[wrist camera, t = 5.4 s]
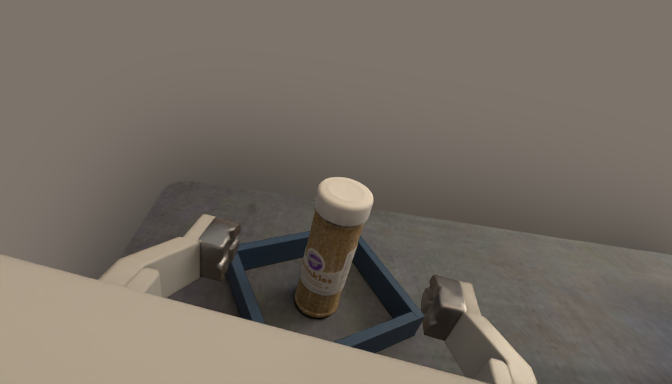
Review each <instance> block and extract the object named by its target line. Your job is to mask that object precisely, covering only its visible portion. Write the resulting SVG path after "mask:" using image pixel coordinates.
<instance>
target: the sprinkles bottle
mask: <svg viewBox="0 0 672 384" xmlns="http://www.w3.org/2000/svg"><path fill="white" fill-rule="evenodd" d="M314 205H315V214H314V217H313V222H312V226H311V230H310V234H309V239H308V243H307V246H306V249H305V253H304V257H303V261H302V266H301V271H300V279H299V283H298V287H297V289H296V292H295V302H296V304H297V306H298V307H299V309H300V310H301V311H302V312H303V313H304V314H306V315H308V316H310V317H315V318H322V317H327V316H329V315H331V314H332V313H334V312H335V311H336V309H337V307H338V305H339V298H340V295H341V292H342V289H343V287H344V285H345V282H346V279H347V276H348V272H349V269H350V266H351V263H352V260H353V257H354V254H355V251H356V248H357V245H358V240H359V237H360V235H361V231H362V228H363V225H364V223H365V222H366V220H367V219H368V217H369V214H370V211H371V208H372V205H373V195H372V193H371V192H370V190H369V189H368V188H367V187H366V186H364V185H363V184H361V183H359V182H357V181H355V180H352V179H349V178H344V177H332V178H328V179H325V180H324V181H322V182H321V183H320V185H319V186H318V190H317V194H316V198H315V203H314Z"/></svg>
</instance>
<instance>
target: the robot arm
mask: <svg viewBox="0 0 672 384" xmlns="http://www.w3.org/2000/svg"><path fill="white" fill-rule="evenodd" d="M240 226H241V225H240V224H239V223H236V222H232V221H229V220H225V219H222V218H218V217H214V216H210V215H207V214H204V215H202V216H201V217H200V218H199V219H198V220H197V221H196V223H195V224H194V225H193V226H192V227H191V228H190V230H189V231H188V232H187V233H186V234H185V235H184V237H183V238H182V237H177V238H175V239H172V240H169V241H167V242H164V243H161V244H158V245H156V246H153V247H150V248H148V249H145V250H142V251H140V252H137V253H134V254H131V255H129V256H126V257H123V258H121V259H119V260H118V261H117V262H116V263H115V264H114V265H113V266H112V267H111V268H110V269H109V270H107V271H106V273H104V274H103V275H102V276H101V277H100V279H98V280H95V279H91V278H88V277H84V276H80V275H76V274H72V273H68V272H65V271H61V270H57V269H53V268H50V267H45V266H42V265H38V264H35V263H31V262H27V261H23V260H19V259H16V258H12V257H9V256H6V255H2V254H0V384H537V381H536V379H535V376H534V374H533V371H532V368H531V367H530V366H529V365H528V364H527V363H526V362H525V360H524V359H523V358H522V357H521V356H520V355H519V354H518V353H517V352H516V351H515V350H514V348H513V347H512V346H511V345H510V344H509V343H508V342H507V341H506V340H505V339H504V338H503V336H502V335H501V334H500V333H499V332H498V331H497V330H496V329H495V328H494V327H493V326H492V324H491V323H490V322H489V321H488V320H487V319H486V318H485V317H482V316H481V314H480V310H479V307H478V303H477V300H476V297H475V293H474V290H473V287H472V285H471V284H470V283H466V282H462V281H457V280H453V279H449V278H445V277H441V276H437V275H433V276H432V278H431V279H430V287H428V288H426V289H425V291H424V293H423V296H422V300H421V311H422V313H423V314H424V315H425V317H424V319H423V320H422V321H423V330H424V335H426V336H430V337H433V338H437V339H440V340H443V341H445V344H446V345H447V347H448V349H449V350H450V352H451V353H452V355H453V357H454V358H455V360H456V362H457V363H458V365H459V366H460V368H461V370H462V371H463V373H464V375H465V376H466V377H463V376H459V375H455V374H451V373H448V372H444V371H440V370H436V369H432V368H428V367H425V366H421V365H417V364H413V363H409V362H406V361H402V360H398V359H394V358H391V357H387V356H383V355H379V354H375V353H372V352H368V351H364V350H360V349H357V348H353V347H349V346H345V345H342V344H338V343H334V342H330V341H326V340H323V339H319V338H315V337H311V336H307V335H304V334H300V333H296V332H292V331H288V330H285V329H281V328H277V327H273V326H269V325H266V324H262V323H258V322H254V321H250V320H247V319H243V318H239V317H235V316H231V315H228V314H224V313H220V312H216V311H213V310H209V309H205V308H201V307H197V306H194V305H190V304H186V303H182V302H178V301H175V300H171V299H167V297H169V296H170V295H172V294H174V293H175V292H177V291H179V290H180V289H182V288H183V287H185V286H187V285H188V284H190V283H192V282H193V281H195V280H197V279H198V278H200V277H205V278H209V279H213V280H217V281H221V280H222V278H223V277H224V275H225V273H226V272H227V270H228V263H231V262H233V260H234V258H235V256H236V254H237V251H238V247H239V241H240V240H239V238H238V234H239V233H240Z"/></svg>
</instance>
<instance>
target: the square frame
mask: <svg viewBox="0 0 672 384" xmlns="http://www.w3.org/2000/svg"><path fill="white" fill-rule="evenodd" d="M309 234H310V231H308V232H302V233H297V234H292V235H286V236H281V237H275V238H270V239H265V240H259V241H254V242H248V243H243V244H239V247H238V251H237V254H236V256H235V258H234V260H233V262H231V263H228V270H227V272H226V273H227V276H228V279H229V282H230V285H231V288H232V291H233V294H234V297H235V300H236V303H237V306H238V309H239V311H240V314H241V317H242V318H243V319H247V320H250V321H254V322H258V323H262V324H265V322H264V319H263V317H262V314H261V311H260V309H259V306H258V304H257V301H256V299H255V296H254V293H253V291H252V288H251V286H250V283H249V281H248V278H247V276H246V273H245V270H246V269H251V268H255V267H260V266H264V265H268V264H273V263H277V262H282V261H286V260H291V259H295V258H299V257H304V253H305V249H306V246H307V243H308V239H309ZM352 261H353V262H354V264H355V265H356V267H357V268H358V269H359V271H360V272H361V274H362V275H363V276H364V278H365V279H366V281H367V282H368V283H369V285H370V286H371V287H372V289H373V290H374V292H375V293H376V294H377V296H378V297H379V299H380V300H381V301H382V303H383V304H384V306H385V307H386V308H387V310H388V311H389V312H390V314H391V315H392V317H393V318H394V319H391V320H389V321H386V322H383V323H381V324H378V325H376V326H373V327H371V328H368V329H365V330H363V331H360V332H358V333H355V334H353V335H350V336H347V337H345V338H342V339H340V340H337V341H335V342H334V343H338V344H342V345H345V346H349V347H353V348H357V349H360V350H364V351H368V352H372V353H375V352H377V351H380V350H382V349H384V348H386V347H389V346H391V345H393V344H395V343H398V342H400V341H402V340H405V339H407V338H409V337H411V336H414V335H415V333H416V331H417V330H418V328H419V326H420V324H421V323H422V320H423V319H424V317H425V315H424V314H423V313H422V312H421V310H420V309H419V308H418V307H417V305H416V304H415V303H414V302H413V300H412V299H411V298H410V297H409V295H408V294H407V293H406V292H405V290H404V289H403V288H402V287H401V286H400V284H399V283H398V282H397V281H396V279H395V278H394V277H393V276H392V274H391V273H390V272H389V271H388V269H387V268H386V267H385V266H384V264H383V263H382V262H381V261H380V259H379V258H378V257H377V256H376V254H375V253H374V252H373V251H372V249H371V248H370V247H369V246H368V244H367V243H366V242H365V241H364V239H363V238H362V237H361V236H360V237H359V240H358V245H357V248H356V251H355V254H354V257H353V260H352Z"/></svg>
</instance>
